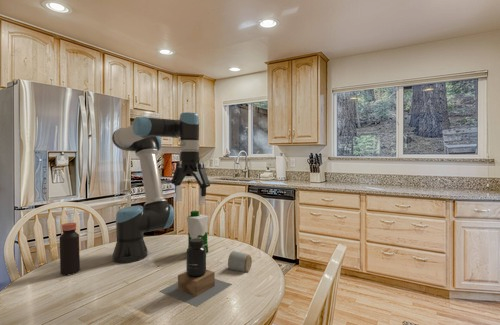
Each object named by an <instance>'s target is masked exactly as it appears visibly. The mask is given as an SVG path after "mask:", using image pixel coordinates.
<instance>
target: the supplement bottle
mask: <svg viewBox="0 0 500 325" xmlns="http://www.w3.org/2000/svg"><path fill="white" fill-rule="evenodd" d="M189 246H190V247H189V248H187V249H186V255H185V256H186V262H185V263H186V264H185V265H186V266H185V267H186V271H185V272H186V273H187V275H188V276H190V277H201V276H203V275H204V274H205V273H206V270H207V253H206V248H205V247H204V246H203V239H201V238H194V239H190V241H189Z"/></svg>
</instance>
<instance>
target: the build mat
mask: <svg viewBox="0 0 500 325" xmlns="http://www.w3.org/2000/svg"><path fill="white" fill-rule="evenodd" d="M232 285H233V283H230V282H226V281H223V280H221V279H216V278H215V286H214V287H212V288H210V289H209V290H207V291H205V292H204V293H202V294H200V295H198V296H194V295H191V294H189V293H186V292H183V291H181V290H178V281H177V282H175V283H173V284H170V285H169V286H166V287H165V288H162V289H161V290H159V291H158V292H160V293H162V294H165V295H166V296H169V297H172V298H175V299H177V300H178V301H181V302H184V303H187V304H189V305H191V306H194V307H199V306H200V305H202V304H204V303H205V302H207V301H209V300H210V299H211V298H213V297H214V296H216V295H218V294H219V293H221V292H223V291H225V290H226V289H228V288H229V287H230V286H232Z"/></svg>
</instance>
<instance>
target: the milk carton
mask: <svg viewBox="0 0 500 325" xmlns="http://www.w3.org/2000/svg"><path fill="white" fill-rule="evenodd" d="M209 218H210V215H206V214H200V211H199V210H192V211H190V215H188V216H186V220H187V228H188V229H187V230H188V242H187V243H188V246H187V247H188V248H189V247H190V246H189V241H190V239H194V238H201V239H203V246H204V247H205V248H206V254H207V253H209V243H208V222H209ZM188 248H187V249H188Z"/></svg>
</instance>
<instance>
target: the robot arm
mask: <svg viewBox="0 0 500 325" xmlns="http://www.w3.org/2000/svg"><path fill="white" fill-rule="evenodd" d="M199 120H200V119H199V114H198V113H197V112H188V111H187V112H185V111H184V112H181V113H180V114H179V119H171V118H159V117H156V118H155V117H147V116H135V117H134V120H133V121H132V124H131V125H128V126H126V127H120V128H118V129H116V130H114V132H113V133H112V135H111V136H112V137H111V140H112V143H113V145H114V146H116V148H117V149H120V150H122V151H124V152H125V151H126V152H127V151H128V152H135V156H136V157H138V158H139V165H140V170H141V176H142V182H143V190H144V196H145V201H146V202H144V204H143V206H142V205H139V204H138V205H130V206H125V207H123V208H121V209H119V210H118V211H116V214H115V229H116V235H115V236H116V243H115V247H114V249H113V253H112V261H113V262H115V263H122V264H124V263H132V262H138V261H141V260H143V259H145V258H146V257H148V248H147V245H146V242H145V240H144V233H148V232H152V231H153V232H154V231H160V230H164V229H168V228H170V227H171V226H172V224H173V223H174V218H175V209H174V207H173V206H172V204H169V203H168V200H167V199H166V198H165V197H164V193H163V186H162V180H161V175H160V170H159V163H158V157H157V155H159V151H161V148H162V139H161V137H163V138H173V139H175V138H176V139H178V138H180V140H179V141H180V148H179V149H180V155H179V156H180V162H176V164H175V169H174V172H173V175H172V179H171V182H170V183H171V185H174V193H175V202H181V201H183V195H182V194H183V186H182V182H183V181H184V179H185V177H187V175H188V174H189V175H192V176H193V177H194V179H195V181H196V182H197V184H198V185H199V188H198V205H199V206H201V205H205V204H206V196H207V188H208V187H210V186H211V183H210V180H209V177H208V175H207V171H206V169H205V163H204V162H198V161H199V160H200V152H199V150H200V121H199Z"/></svg>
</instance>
